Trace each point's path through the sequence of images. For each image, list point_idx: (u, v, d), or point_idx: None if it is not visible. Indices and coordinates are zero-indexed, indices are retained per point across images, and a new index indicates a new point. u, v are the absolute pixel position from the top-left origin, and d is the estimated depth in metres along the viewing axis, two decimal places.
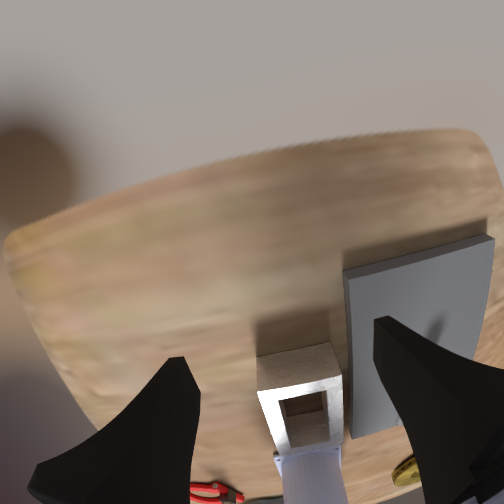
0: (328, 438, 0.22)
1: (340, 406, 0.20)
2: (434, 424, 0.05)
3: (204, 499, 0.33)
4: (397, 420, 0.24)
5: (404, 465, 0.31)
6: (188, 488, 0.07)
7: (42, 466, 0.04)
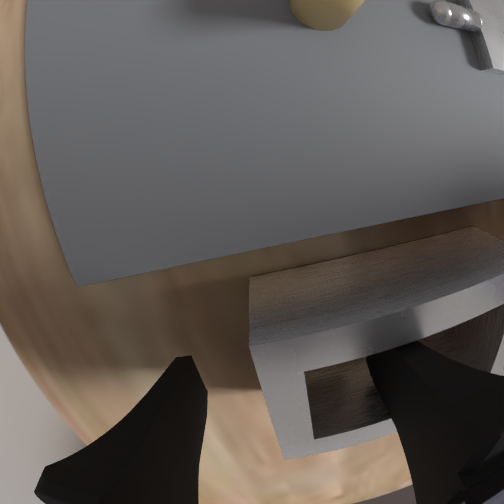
0: None
1: (394, 319, 0.07)
2: (424, 428, 0.05)
3: None
4: None
5: None
6: (196, 488, 0.07)
7: (50, 468, 0.04)
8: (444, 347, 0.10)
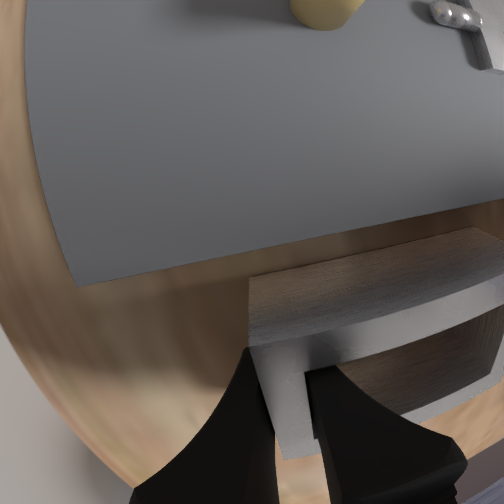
0: None
1: (394, 319, 0.07)
2: (327, 459, 0.06)
3: None
4: None
5: None
6: (276, 483, 0.07)
7: (143, 489, 0.04)
8: (444, 347, 0.10)
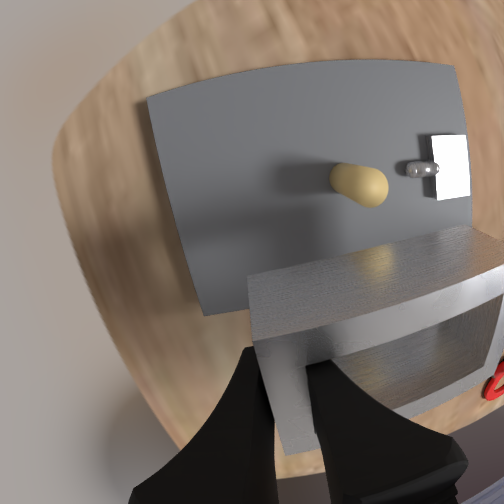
0: None
1: (391, 312, 0.07)
2: (327, 459, 0.06)
3: None
4: None
5: None
6: (276, 484, 0.07)
7: (143, 490, 0.04)
8: (438, 342, 0.11)
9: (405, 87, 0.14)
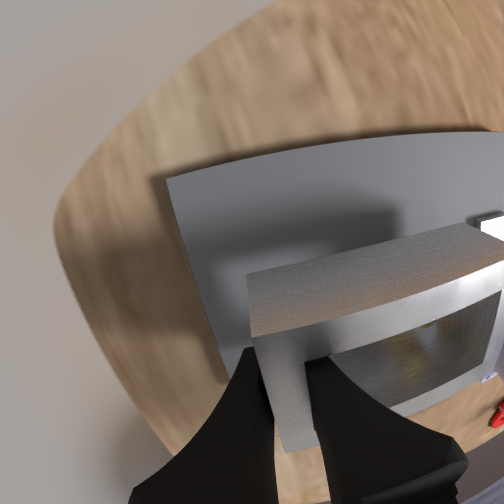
0: None
1: (388, 309, 0.07)
2: (327, 459, 0.06)
3: None
4: None
5: None
6: (275, 484, 0.07)
7: (142, 490, 0.04)
8: (436, 339, 0.11)
9: (462, 165, 0.12)
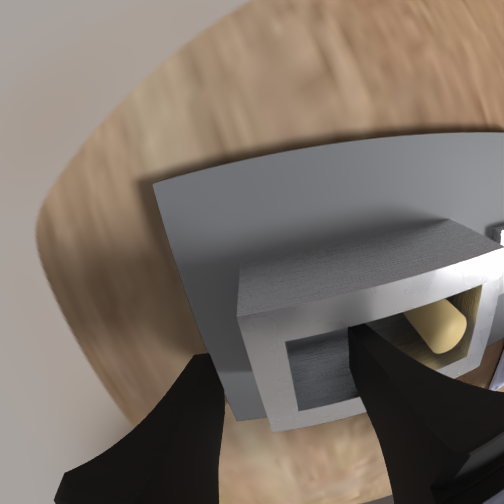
0: None
1: (362, 296, 0.08)
2: (400, 438, 0.05)
3: None
4: None
5: None
6: (217, 488, 0.07)
7: (70, 475, 0.04)
8: None
9: (482, 169, 0.10)
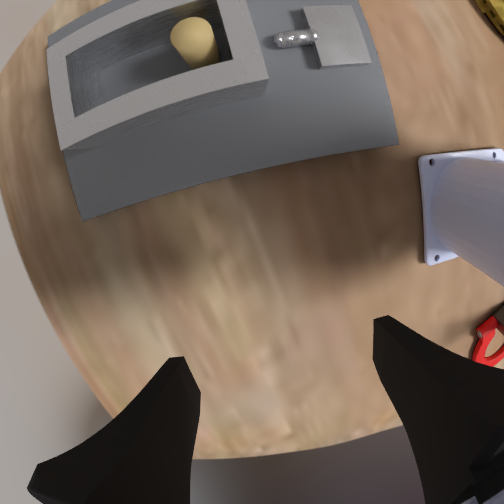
0: (216, 0, 0.09)
1: (106, 17, 0.09)
2: (434, 424, 0.05)
3: None
4: (357, 64, 0.13)
5: None
6: (188, 488, 0.07)
7: (42, 466, 0.04)
8: None
9: None
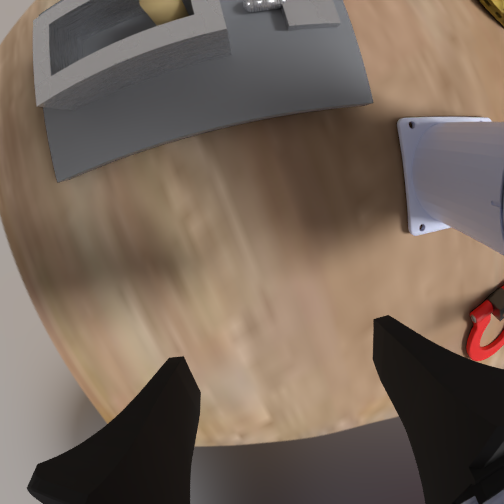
0: None
1: None
2: (434, 424, 0.05)
3: None
4: (326, 25, 0.12)
5: (492, 12, 0.11)
6: (188, 488, 0.07)
7: (42, 466, 0.04)
8: None
9: None
